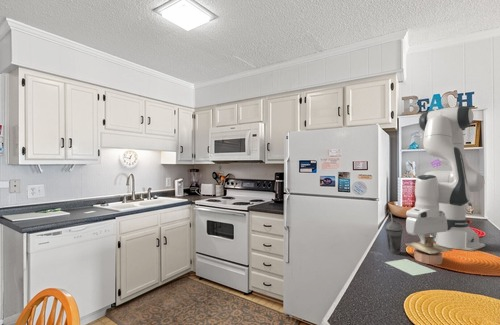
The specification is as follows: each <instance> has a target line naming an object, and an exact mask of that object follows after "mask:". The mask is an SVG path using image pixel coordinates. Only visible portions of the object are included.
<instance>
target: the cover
mask: <svg viewBox="0 0 500 325" xmlns="http://www.w3.org/2000/svg"><path fill="white" fill-rule="evenodd" d="M424 238H425V240H427V244H422V243H421V241H414V242H413V241H412V242H407V243H405V244H404V245H405V246H407V247H409V248H413V249H414V250H415V249H418V250H421V251H424V252H427V253H430V254H433V253H440V252H441V253H445V252H452V250H453V248H448V247H444V246H440V245H438V244H436V243H435V241H434V242H433V237H430V235H425V236H424Z"/></svg>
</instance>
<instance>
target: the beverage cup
mask: <svg viewBox="0 0 500 325" xmlns="http://www.w3.org/2000/svg"><path fill="white" fill-rule="evenodd" d="M390 217H391V218H390V219H391V221H389V222H387V223H386V226H385V233H386V239H387V247H388V253H389V254H392V255H400V254H401V249H402V248H401V245H402V235H403V231H404V230H403V226H402V225H401V223H400V222H399V221H397V220H394V219H393V214H392V211H390Z"/></svg>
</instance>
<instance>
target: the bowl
mask: <svg viewBox="0 0 500 325" xmlns="http://www.w3.org/2000/svg"><path fill="white" fill-rule="evenodd" d="M413 255H414V256H413V258H414V260H415V261H418V262H419V263H422V264H428V265H435V266H436V265H441V264H443V252H440V253H433V254H430V253H427V252H424V251H421V250H418V249H415V248H414V249H413Z"/></svg>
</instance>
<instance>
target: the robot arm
mask: <svg viewBox="0 0 500 325" xmlns="http://www.w3.org/2000/svg"><path fill="white" fill-rule="evenodd" d="M473 120H474V112H473V110H472V108H471V107H470V106H468V105H467V106H466V105H459V106H451V107H450V106H449V107H443V108H439V109H435V110H429V111H425V112H423V113H421V114H420V116H419V120H418V125H419V129H421V130H422V131H424V133H423V141H422V142H423V144H422V146H423V149H424V151H425V152H426V153H427V154H429V155H430V156H432V157H435V158H437V159H438V160H439V162H441V163H443V164H444V165H445V164H446V165H448V166H450V168H451V170H431V171H426V172H425V173H424V174H422V175H419V176H418V175H417V177H416V179H415V183H414V185H415V186H414V196H415V202H414V207H412V208H410V209H408V210H407V211H406V213H405V215H406V216H407V217H406V219H405V230H406V233H407V234H408V235H410V236H411V235H412V236H418V237H419V239H420V242H421V243H422V244H427V240H425V238H424V236H426V235H427V234H429V237H433V242H434V243H435V244H437V245H440V246H444V247H447V248H451V249H452V250H453V249H454V250H463V251H476V250H479V249H481V248H484V247H486V244H485V243H483V242H480V238H479V234H478V233H477V232H476V231H475V230H473V229H472V228H471V227H470V226H469V224H472V223H473V220H472V219H468V218H466V217H467V216H466V204H467V203H469V202H470V200H471V193H477V192H479V191H481V190H482V189H483V188H484V186H485V179H484V177H483V175H482V174H481V173H480V172H478V171H476V170H475V169H474V168H472V167H471V166H470V164H469V163H468V161H467V158H466V152H465V138H464V133H463V131H465V130H466V128H468V127H470V126H471V125H472V123H473Z"/></svg>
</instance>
